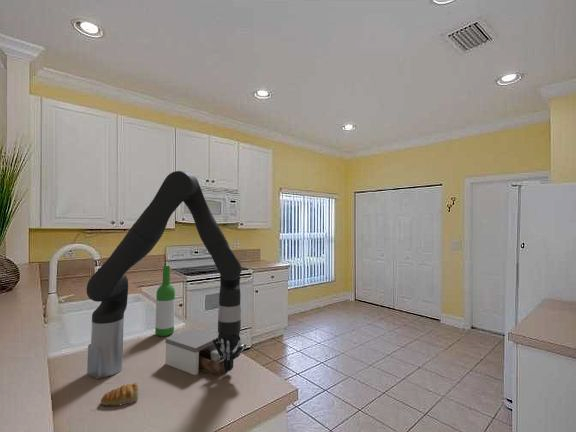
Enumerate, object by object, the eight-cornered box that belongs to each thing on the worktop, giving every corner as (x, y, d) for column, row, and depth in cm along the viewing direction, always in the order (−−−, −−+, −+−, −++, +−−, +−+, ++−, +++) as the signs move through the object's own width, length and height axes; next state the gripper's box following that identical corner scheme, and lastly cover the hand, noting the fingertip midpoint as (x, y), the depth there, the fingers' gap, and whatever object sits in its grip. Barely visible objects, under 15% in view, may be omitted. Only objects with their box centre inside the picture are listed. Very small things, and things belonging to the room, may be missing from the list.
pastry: (100, 412, 80) (100, 397, 80) (101, 399, 86) (102, 385, 86) (139, 402, 84) (139, 388, 84) (138, 390, 90) (138, 377, 90)
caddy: (228, 369, 104) (229, 351, 104) (217, 376, 99) (217, 357, 99) (192, 356, 113) (192, 340, 113) (179, 362, 108) (180, 345, 108)
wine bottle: (169, 329, 140) (171, 264, 140) (176, 333, 134) (178, 266, 135) (152, 333, 134) (154, 266, 135) (159, 338, 129) (161, 268, 129)
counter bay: (194, 375, 99) (195, 348, 99) (164, 364, 106) (165, 338, 106) (222, 360, 110) (222, 335, 110) (193, 350, 118) (193, 327, 118)
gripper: (252, 318, 100) (251, 370, 100) (222, 311, 107) (221, 360, 107) (237, 324, 94) (236, 380, 94) (206, 317, 101) (205, 369, 100)
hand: (228, 369), depth 100 cm, fingers closed
